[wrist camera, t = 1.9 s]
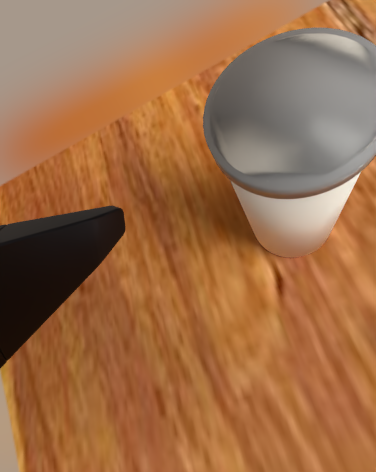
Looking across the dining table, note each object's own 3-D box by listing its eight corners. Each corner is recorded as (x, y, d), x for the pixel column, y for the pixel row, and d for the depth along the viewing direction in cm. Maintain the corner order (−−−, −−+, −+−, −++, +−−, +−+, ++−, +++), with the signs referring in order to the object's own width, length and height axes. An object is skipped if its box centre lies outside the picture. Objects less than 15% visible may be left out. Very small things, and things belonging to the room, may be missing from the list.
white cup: (282, 277, 19) (271, 227, 8) (234, 215, 21) (174, 108, 10) (356, 227, 18) (454, 97, 7) (298, 168, 20) (307, -1, 9)
